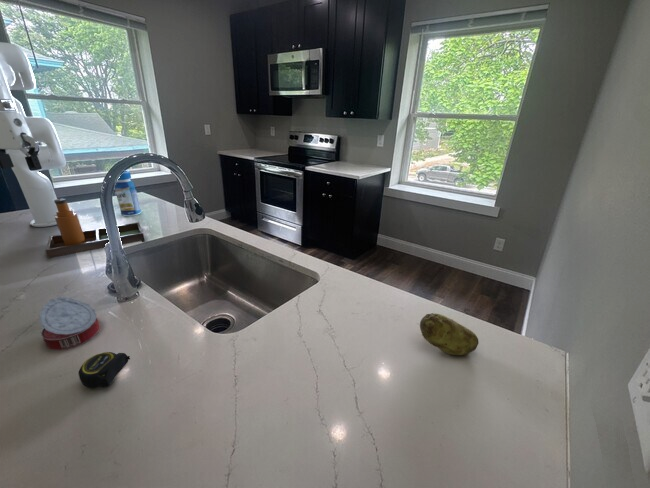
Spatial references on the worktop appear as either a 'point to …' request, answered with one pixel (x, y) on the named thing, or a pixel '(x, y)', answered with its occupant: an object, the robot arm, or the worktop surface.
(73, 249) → the tray
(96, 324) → the canned food
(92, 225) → the worktop surface
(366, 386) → the worktop surface
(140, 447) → the worktop surface
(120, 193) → the beverage bottle
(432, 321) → the potato
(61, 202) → the bottle
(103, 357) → the tape measure
